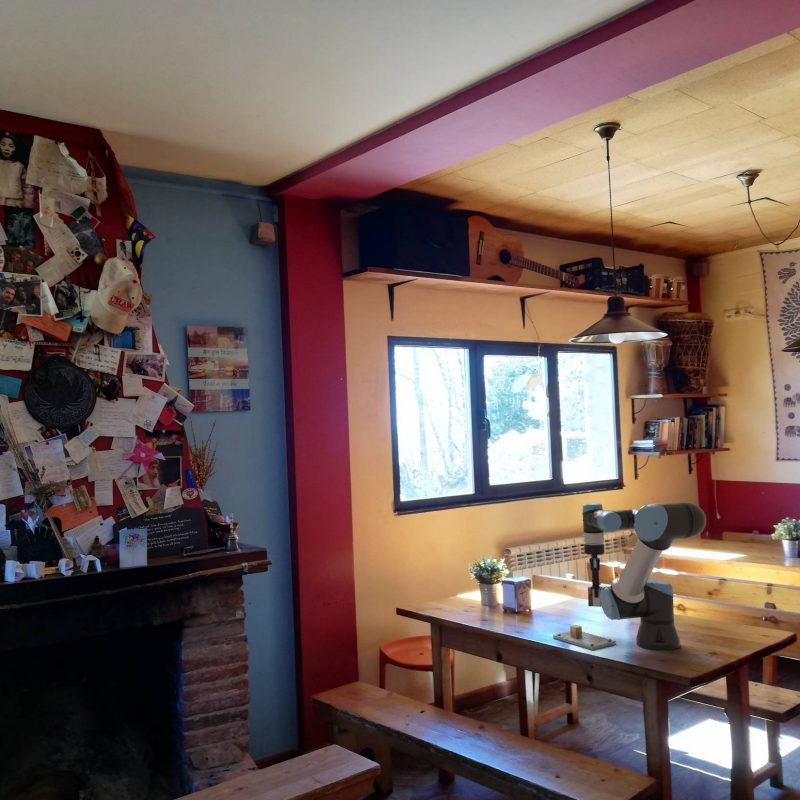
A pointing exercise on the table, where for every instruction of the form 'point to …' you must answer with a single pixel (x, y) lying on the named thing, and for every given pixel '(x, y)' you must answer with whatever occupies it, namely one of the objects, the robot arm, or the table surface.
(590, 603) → the brown block
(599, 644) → the plate
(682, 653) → the table surface
